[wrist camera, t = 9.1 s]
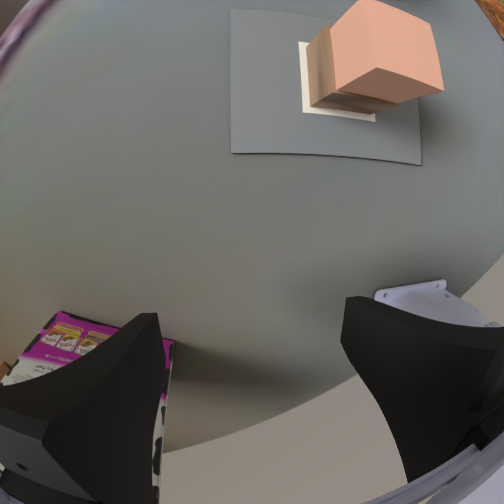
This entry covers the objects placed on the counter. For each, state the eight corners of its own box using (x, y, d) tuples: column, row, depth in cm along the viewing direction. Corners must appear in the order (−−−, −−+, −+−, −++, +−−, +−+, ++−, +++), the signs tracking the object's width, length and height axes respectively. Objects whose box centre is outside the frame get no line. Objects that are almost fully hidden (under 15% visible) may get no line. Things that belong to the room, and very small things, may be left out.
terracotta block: (389, 45, 13) (429, 23, 8) (397, 103, 14) (444, 90, 10) (329, 29, 12) (363, -5, 8) (336, 90, 13) (376, 67, 9)
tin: (452, -25, 13) (485, -41, 5) (456, -28, 12) (488, -43, 4) (510, 53, 17) (546, 48, 9) (512, 47, 17) (546, 42, 9)
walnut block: (364, 59, 16) (391, 42, 13) (369, 114, 18) (400, 106, 14) (305, 47, 16) (325, 24, 12) (309, 106, 17) (332, 92, 13)
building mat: (406, 44, 17) (409, 43, 16) (418, 165, 20) (421, 165, 19) (230, 11, 15) (230, 7, 14) (231, 153, 18) (231, 152, 17)
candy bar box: (62, 353, 20) (-10, 485, 5) (57, 308, 19) (-47, 443, 3) (172, 382, 22) (159, 551, 7) (177, 339, 21) (157, 538, 6)
